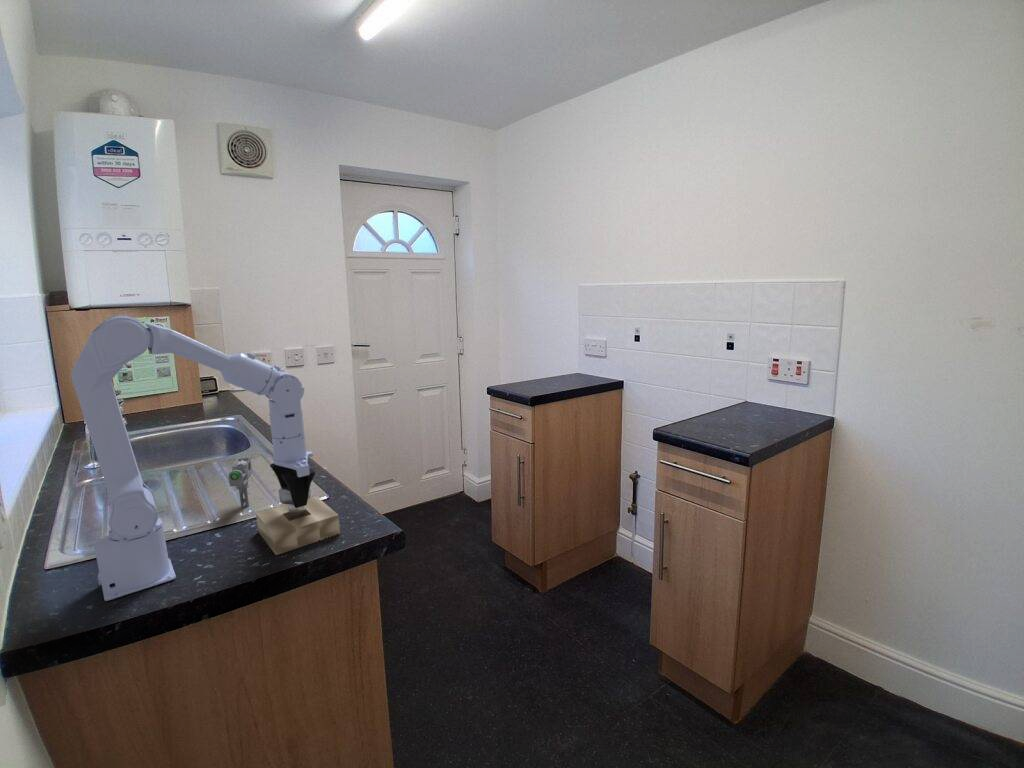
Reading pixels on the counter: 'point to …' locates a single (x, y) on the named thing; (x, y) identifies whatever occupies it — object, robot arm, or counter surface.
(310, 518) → the block
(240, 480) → the mechanical component
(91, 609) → the counter surface
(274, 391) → the robot arm
